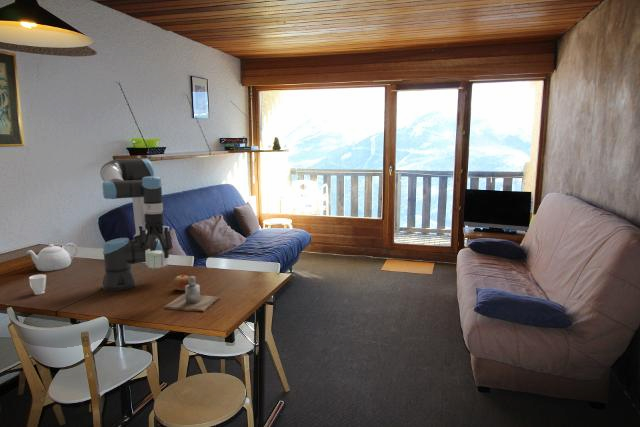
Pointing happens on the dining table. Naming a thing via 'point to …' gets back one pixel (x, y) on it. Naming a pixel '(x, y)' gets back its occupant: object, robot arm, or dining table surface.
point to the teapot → (52, 258)
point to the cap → (154, 259)
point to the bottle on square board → (192, 299)
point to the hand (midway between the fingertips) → (156, 264)
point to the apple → (181, 282)
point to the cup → (38, 283)
